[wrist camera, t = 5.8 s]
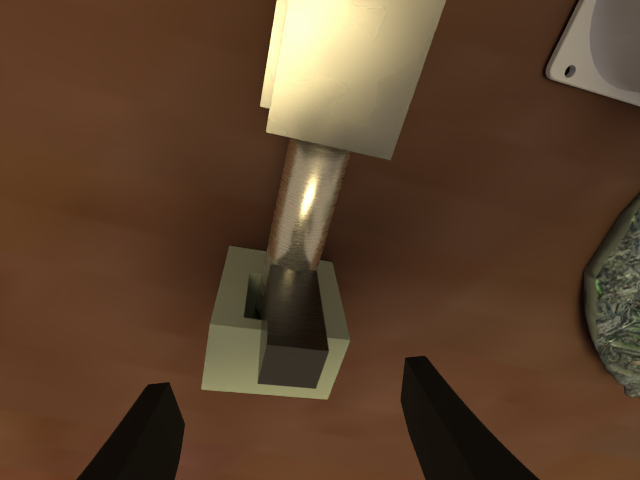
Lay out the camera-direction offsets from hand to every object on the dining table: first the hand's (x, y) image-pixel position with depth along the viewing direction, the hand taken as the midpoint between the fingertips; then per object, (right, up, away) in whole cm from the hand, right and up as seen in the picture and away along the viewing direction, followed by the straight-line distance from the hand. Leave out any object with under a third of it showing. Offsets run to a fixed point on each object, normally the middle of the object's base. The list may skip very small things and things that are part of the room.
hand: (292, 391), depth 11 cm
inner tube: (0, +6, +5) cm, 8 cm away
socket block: (-2, +2, +10) cm, 11 cm away
